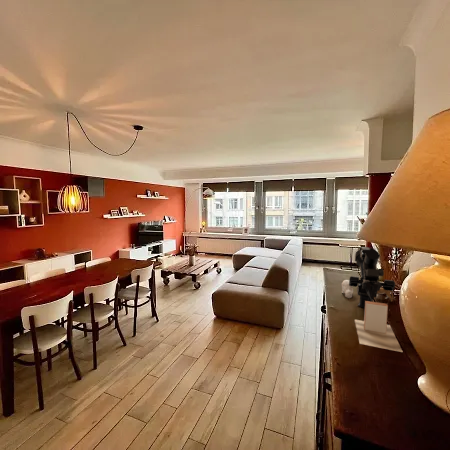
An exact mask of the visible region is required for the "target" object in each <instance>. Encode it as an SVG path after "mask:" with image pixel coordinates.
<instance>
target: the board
mask: <svg viewBox="0 0 450 450" xmlns="http://www.w3.org/2000/svg"><path fill="white" fill-rule="evenodd" d="M354 323H355V328H356V333H357V337H358V342H359V345H365V346H369V347H374V348H379V349H385V350H389V351H395V352H400V353H403V350H402V348H401V345H400V343H399V341H398V339H397V338H396V337H397V336H396V335H395V332H394V331H393V328H392V327H391V325H390V324H387V328H386V333H380V332H374V331H369V330H364V320H362V319H361V320H359V319H354Z"/></svg>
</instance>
